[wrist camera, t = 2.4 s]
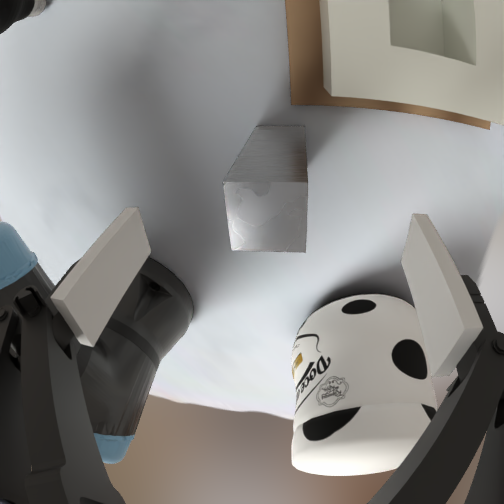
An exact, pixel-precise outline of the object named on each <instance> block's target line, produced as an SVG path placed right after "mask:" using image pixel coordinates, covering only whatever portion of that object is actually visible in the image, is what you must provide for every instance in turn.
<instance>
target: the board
mask: <svg viewBox="0 0 504 504" xmlns="http://www.w3.org/2000/svg"><path fill="white" fill-rule="evenodd" d="M285 6H286V19H287V33H288V48H289V66H290V86H291V105H324V106H343V107H357V108H369V109H379V110H388V111H396V112H403V113H410V114H417V115H423V116H429V117H434V118H440V119H445V120H450V121H455V122H459V123H464V124H468V125H472V126H476V127H480V128H484V129H488V130H490V123H491V122H490V121H487V120H483V119H479V118H475V117H471V116H467V115H463V114H459V113H455V112H450V111H445V110H440V109H435V108H430V107H424V106H419V105H412V104H406V103H399V102H392V101H384V100H375V99H364V98H353V97H338V96H331V95H330V94H329V93H328V92H327V90H326V89H325V88H324V87H323V54H322V33H321V17H320V4H319V0H285Z"/></svg>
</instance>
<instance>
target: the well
mask: <svg viewBox="0 0 504 504" xmlns="http://www.w3.org/2000/svg"><path fill="white" fill-rule="evenodd" d="M319 4H320V17H321V33H322V54H323V87H324V88H325V89H326V90H327V92H328V93H329V94H330V95H331V96H338V97H353V98H364V99H375V100H384V101H392V102H399V103H406V104H412V105H419V106H424V107H430V108H435V109H440V110H445V111H450V112H455V113H459V114H463V115H467V116H471V117H475V118H479V119H483V120H487V121H490V122H494V123H497V124H500V125H503V126H504V0H319Z"/></svg>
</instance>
